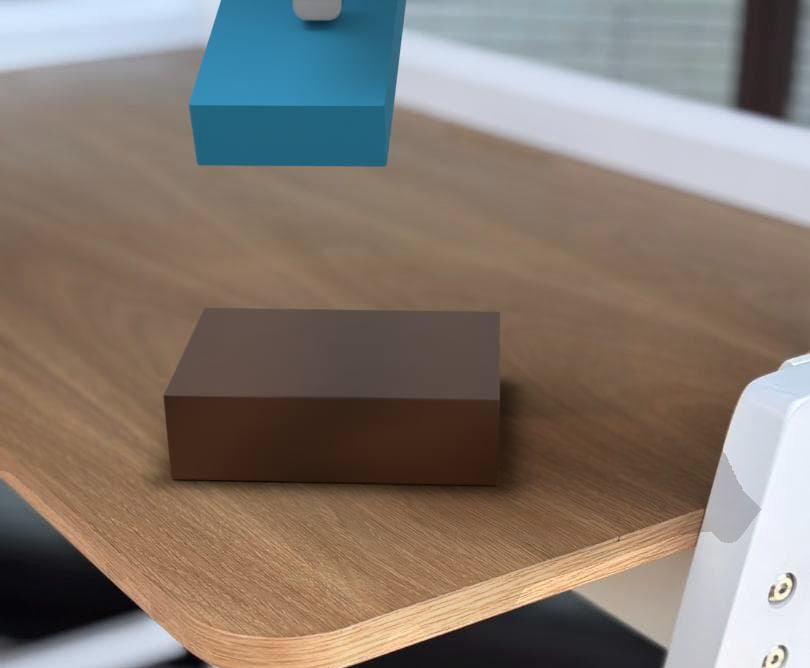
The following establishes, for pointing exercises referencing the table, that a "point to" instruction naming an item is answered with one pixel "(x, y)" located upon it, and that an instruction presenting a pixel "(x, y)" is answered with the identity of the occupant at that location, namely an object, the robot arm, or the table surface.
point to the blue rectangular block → (297, 85)
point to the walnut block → (337, 397)
